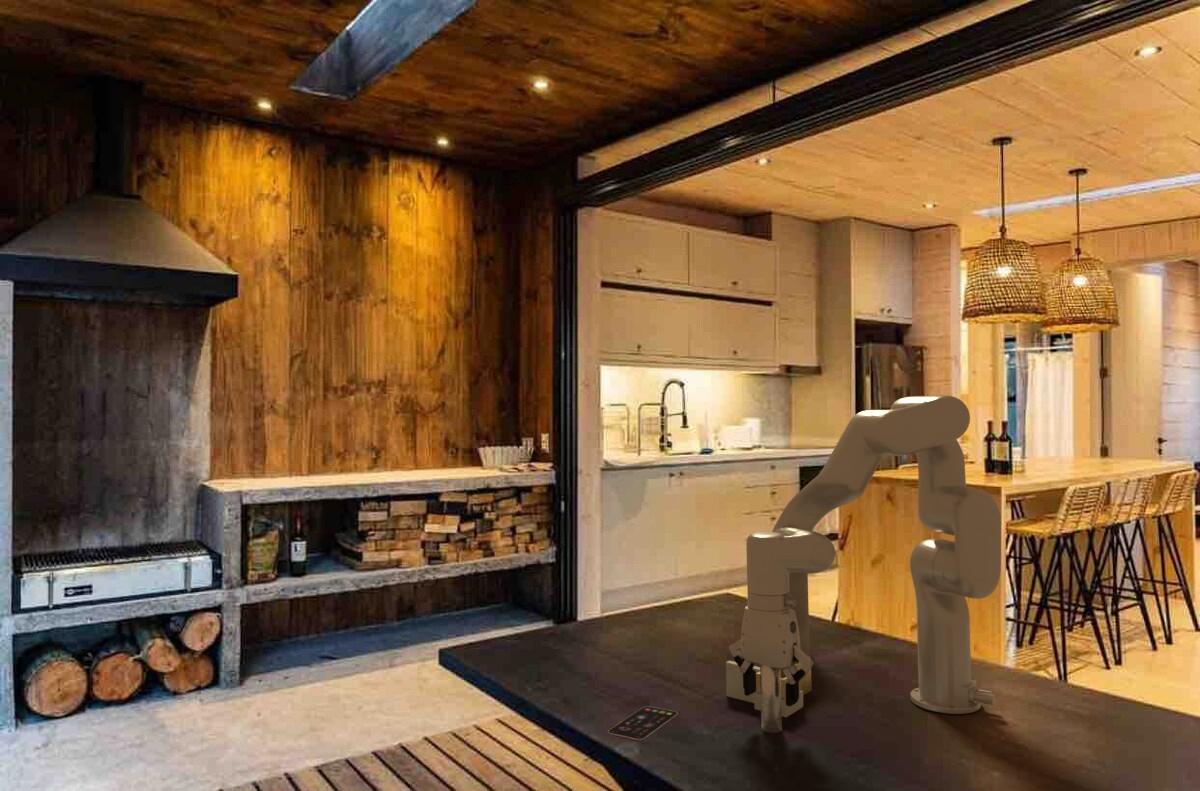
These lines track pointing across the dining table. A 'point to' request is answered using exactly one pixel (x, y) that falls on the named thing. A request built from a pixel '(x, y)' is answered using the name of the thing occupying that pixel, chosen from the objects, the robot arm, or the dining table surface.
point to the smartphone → (643, 723)
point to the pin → (770, 699)
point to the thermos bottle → (801, 606)
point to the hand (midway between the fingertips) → (770, 698)
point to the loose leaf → (737, 691)
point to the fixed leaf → (803, 683)
